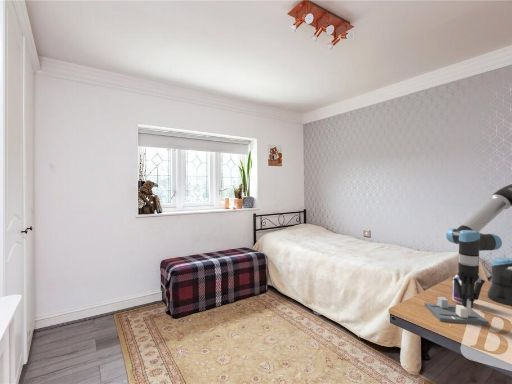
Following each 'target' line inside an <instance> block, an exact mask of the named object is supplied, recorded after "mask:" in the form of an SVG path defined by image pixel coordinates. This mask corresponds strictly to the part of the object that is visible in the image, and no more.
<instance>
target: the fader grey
mask: <svg viewBox="0 0 512 384" xmlns="http://www.w3.org/2000/svg"><path fill="white" fill-rule="evenodd" d="M437 304H438V305H439V306H440V307H441V308H448V305H449V299H447V298H446V297H445V296H437Z"/></svg>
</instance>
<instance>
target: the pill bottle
mask: <svg viewBox="0 0 512 384" xmlns="http://www.w3.org/2000/svg"><path fill="white" fill-rule="evenodd" d="M456 276H457V274H455V276H454V277H456ZM459 283H460V286H461V290H462V284H461V280H460V279H459ZM451 288H452V290H451V292H452V294H451V296H452V297H451V298H452V302H454V303H456V304H457V305H462V299H461V298H459V297H458V296H457V292H456V288H455V284H454V281H453V280H452V287H451Z"/></svg>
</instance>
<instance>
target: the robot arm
mask: <svg viewBox="0 0 512 384" xmlns="http://www.w3.org/2000/svg"><path fill="white" fill-rule="evenodd" d="M511 207H512V183H510V184H508V185H506V186H503V187H501V188H500V189H498V190H496V191H495V192H494V193H493V194H492V195H490V196H489V200H488V201H486V203H484V204H483V205H482V206H481V207H480V208H479V209H478V210H477V211H475V212H474V213H473V214H472V215H471V216H470V217H469V218H467V219H466V220H465V221H464V222H463V223H462V224H461V225H460V226H459V227H457V228H449V229H448V230H447V231H446V232H445V233H446V234H445V237H446V240H447V241H448V242H450V243H453V244H456V245H458V265H457V266H458V267H457V269H458V272H457V273H456V275H457V276H456V277H455V276H452V277H451V279H452V282H453V281H454V284H455V288H456V292H457V296H458V297H459V298H461V299H462V304H461V305H462V306H464V307H466V308H467V309H468V315H471V309H472V308H474V302H475V301H478V300H479V297H480V295H481V291H482V288H483V285H484V284H485V282H486V280H484V279H483V278H481V277H480V276H479V275H480V274H479V273H480V252H481V251H482V252H483V251H484V252H485V251H491V252H492V251H495V250H499V249H500V248H501V247H502V245H503V241H502V239H501V237H500V236H499V235H497V234H494V233H481V231H482V230H483V229H484V228H486V226H487V225H488V224H489V223H491V222H492V221H493V220H494V219H495V218H496V217H497V216H499V215H500V214H501V213H502V212H503V211H504V210H509V209H510V208H511ZM491 268H492V269H491V284H490V286H489V288H488V290H487V294H486V295H487V298H488V299H490V300H492V301H494V302H497V303H500V304H503V305H507V306H508V305H509V306H512V258H511V257H495V258H493V259H492V264H491ZM459 279H460V280H461V284H462V290H461V286H460V283H459Z"/></svg>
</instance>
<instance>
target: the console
mask: <svg viewBox="0 0 512 384" xmlns="http://www.w3.org/2000/svg"><path fill="white" fill-rule="evenodd" d="M423 305H424V307H425V308H426V309H427V310H428V311H429V312H430V313H431V314H432V315H433V316H434V317H435V318H436V319H437V320H438V321H439V322H447V323H458V324H459V323H460V324H470V325H471V323H472V325H483V326H484V325H485V326H488V325H487V324H489V325H490V323H489V321H488V320H487V319H485V317H483V316H481V315H480V314H479V313H478V312H476V311H475V310H473V309H472V308H471V315H468V318H463V317H460V316H458V315H457V314H456V305H457V304H456V305H455V304H448V308H441V307H440V306H439V305H438V302H437V303H429V302H424V304H423Z"/></svg>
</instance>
